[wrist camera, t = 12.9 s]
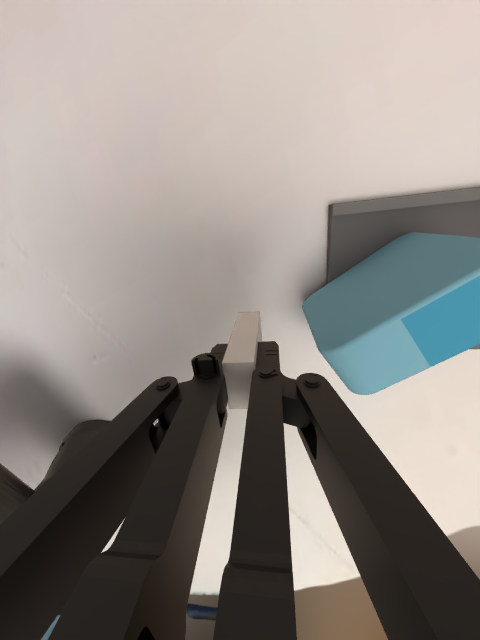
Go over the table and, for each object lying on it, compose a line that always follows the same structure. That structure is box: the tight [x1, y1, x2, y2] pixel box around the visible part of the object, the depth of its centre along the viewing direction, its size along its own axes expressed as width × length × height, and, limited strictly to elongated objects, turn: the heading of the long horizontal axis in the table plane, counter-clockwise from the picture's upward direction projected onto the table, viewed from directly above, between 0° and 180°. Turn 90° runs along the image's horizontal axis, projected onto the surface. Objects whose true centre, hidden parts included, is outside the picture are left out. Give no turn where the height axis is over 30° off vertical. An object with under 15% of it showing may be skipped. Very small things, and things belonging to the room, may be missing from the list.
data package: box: [302, 232, 480, 395], centre depth 20 cm, size 12×4×12 cm, turn 129°
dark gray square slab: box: [326, 187, 480, 349], centre depth 25 cm, size 16×16×2 cm
